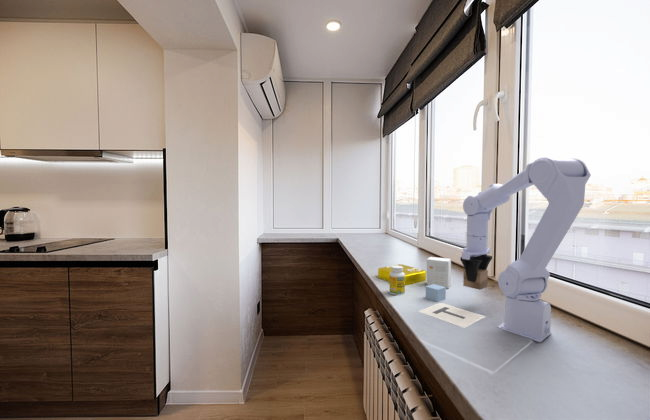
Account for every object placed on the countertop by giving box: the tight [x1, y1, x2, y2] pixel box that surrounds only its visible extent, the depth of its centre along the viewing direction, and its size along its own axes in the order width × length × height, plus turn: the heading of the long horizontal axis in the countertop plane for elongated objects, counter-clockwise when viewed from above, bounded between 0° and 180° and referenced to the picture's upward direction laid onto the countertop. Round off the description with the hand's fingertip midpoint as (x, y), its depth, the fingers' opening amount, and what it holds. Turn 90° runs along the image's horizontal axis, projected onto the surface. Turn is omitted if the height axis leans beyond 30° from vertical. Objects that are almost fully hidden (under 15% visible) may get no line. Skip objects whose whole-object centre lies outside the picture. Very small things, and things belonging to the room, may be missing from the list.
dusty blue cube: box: [425, 284, 447, 303], centre depth 98 cm, size 4×4×4 cm
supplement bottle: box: [388, 265, 406, 296], centre depth 104 cm, size 5×5×10 cm
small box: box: [426, 256, 452, 290], centre depth 113 cm, size 8×6×10 cm
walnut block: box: [462, 269, 489, 290], centre depth 91 cm, size 5×5×5 cm
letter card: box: [418, 301, 486, 329], centre depth 85 cm, size 14×12×1 cm
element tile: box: [377, 263, 427, 287], centre depth 123 cm, size 15×15×5 cm
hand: (475, 279), depth 91 cm, fingers closed on walnut block, 5 cm apart
